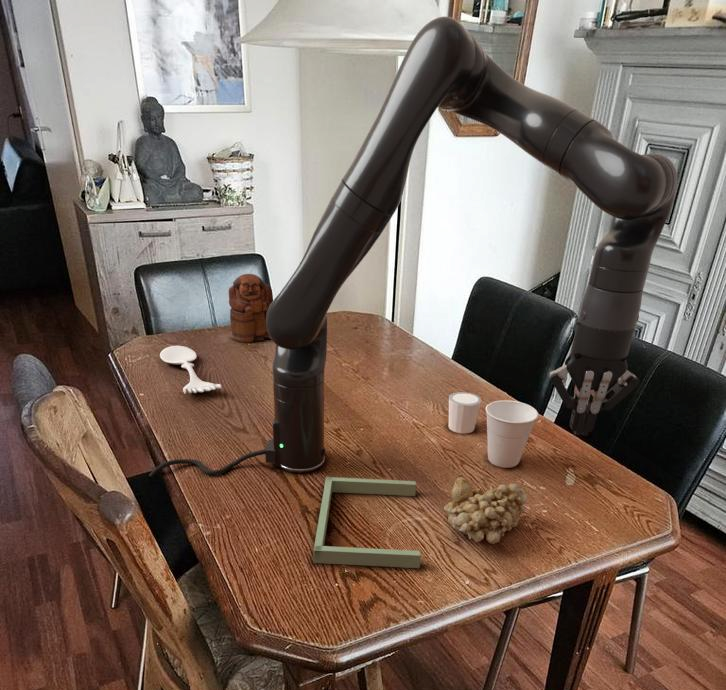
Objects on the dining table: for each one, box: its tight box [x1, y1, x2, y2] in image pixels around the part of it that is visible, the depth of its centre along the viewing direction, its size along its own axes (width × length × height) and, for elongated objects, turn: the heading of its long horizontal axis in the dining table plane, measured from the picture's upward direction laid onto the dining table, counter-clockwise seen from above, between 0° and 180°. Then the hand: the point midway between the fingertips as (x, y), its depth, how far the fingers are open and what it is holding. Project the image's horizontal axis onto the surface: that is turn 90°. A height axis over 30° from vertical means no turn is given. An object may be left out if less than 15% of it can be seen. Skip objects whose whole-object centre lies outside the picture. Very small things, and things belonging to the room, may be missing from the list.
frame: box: [313, 476, 422, 569], centre depth 104 cm, size 16×21×2 cm
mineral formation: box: [443, 476, 528, 545], centre depth 103 cm, size 8×13×15 cm
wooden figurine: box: [228, 273, 274, 343], centre depth 176 cm, size 12×6×18 cm, turn 115°
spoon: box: [159, 345, 222, 395], centre depth 155 cm, size 9×32×4 cm, turn 26°
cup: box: [485, 399, 539, 469], centre depth 122 cm, size 10×10×11 cm
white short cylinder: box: [447, 391, 482, 435], centre depth 135 cm, size 7×7×7 cm
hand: (579, 432), depth 95 cm, fingers closed
